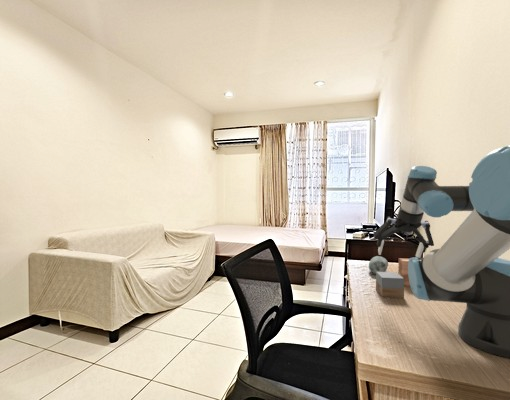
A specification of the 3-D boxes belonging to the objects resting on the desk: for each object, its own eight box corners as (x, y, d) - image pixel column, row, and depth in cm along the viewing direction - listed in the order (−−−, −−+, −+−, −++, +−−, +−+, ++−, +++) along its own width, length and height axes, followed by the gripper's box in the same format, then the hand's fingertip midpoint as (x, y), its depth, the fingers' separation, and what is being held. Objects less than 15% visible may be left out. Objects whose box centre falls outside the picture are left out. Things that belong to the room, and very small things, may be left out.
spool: (390, 272, 124) (380, 252, 128) (371, 278, 128) (362, 258, 132) (394, 272, 134) (385, 253, 139) (376, 277, 138) (368, 259, 143)
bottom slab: (404, 298, 101) (404, 288, 101) (382, 297, 102) (382, 287, 102) (395, 291, 109) (395, 281, 109) (375, 290, 110) (375, 281, 110)
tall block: (415, 286, 114) (415, 261, 113) (403, 285, 114) (403, 261, 114) (409, 282, 119) (410, 258, 118) (398, 281, 119) (398, 258, 119)
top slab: (403, 288, 100) (403, 278, 100) (381, 287, 102) (381, 277, 102) (396, 281, 108) (396, 272, 108) (376, 280, 110) (376, 271, 110)
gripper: (448, 207, 91) (430, 253, 102) (372, 200, 97) (363, 244, 108) (456, 218, 85) (437, 267, 95) (375, 210, 91) (364, 256, 101)
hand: (397, 255), depth 102 cm, fingers open, 13 cm apart
